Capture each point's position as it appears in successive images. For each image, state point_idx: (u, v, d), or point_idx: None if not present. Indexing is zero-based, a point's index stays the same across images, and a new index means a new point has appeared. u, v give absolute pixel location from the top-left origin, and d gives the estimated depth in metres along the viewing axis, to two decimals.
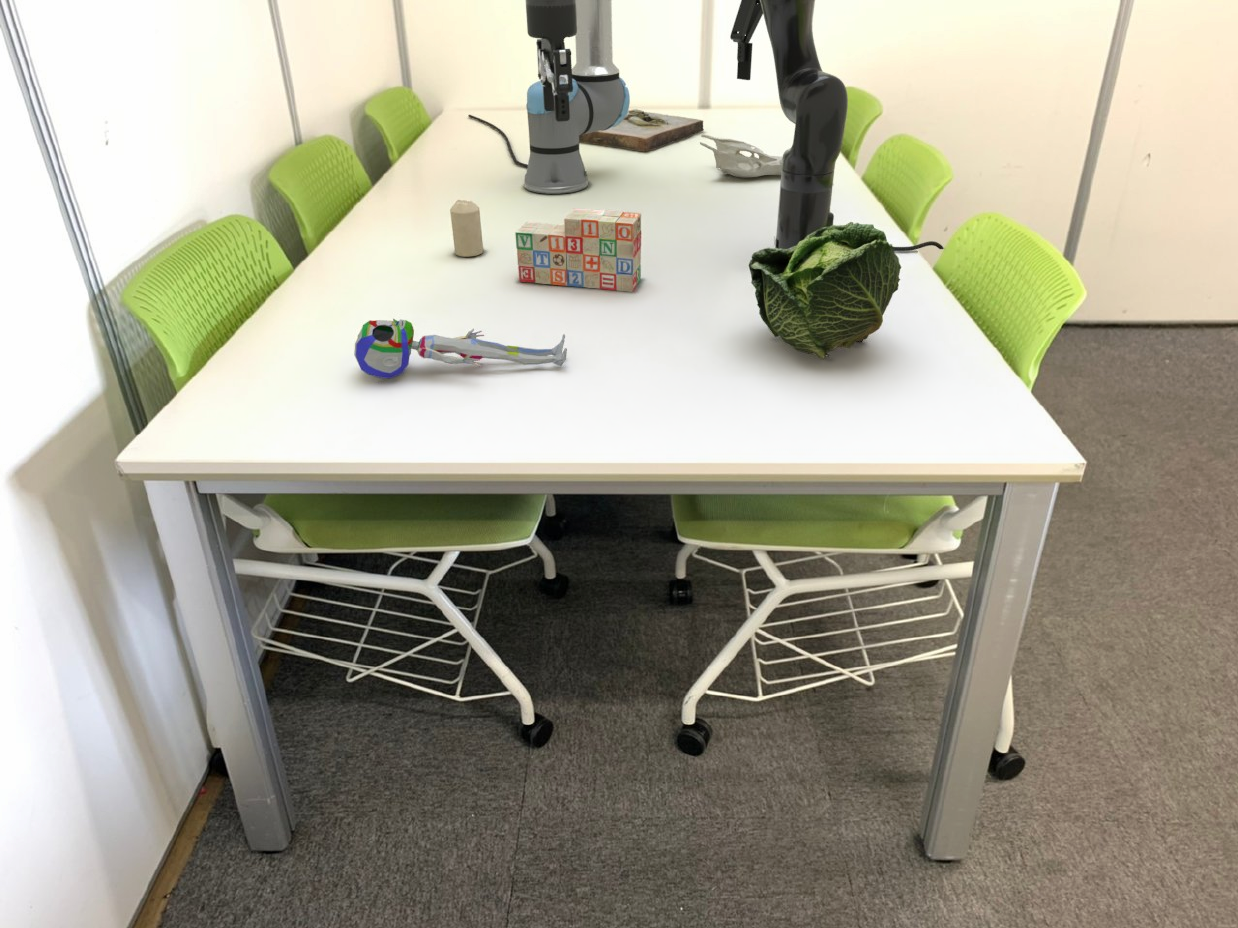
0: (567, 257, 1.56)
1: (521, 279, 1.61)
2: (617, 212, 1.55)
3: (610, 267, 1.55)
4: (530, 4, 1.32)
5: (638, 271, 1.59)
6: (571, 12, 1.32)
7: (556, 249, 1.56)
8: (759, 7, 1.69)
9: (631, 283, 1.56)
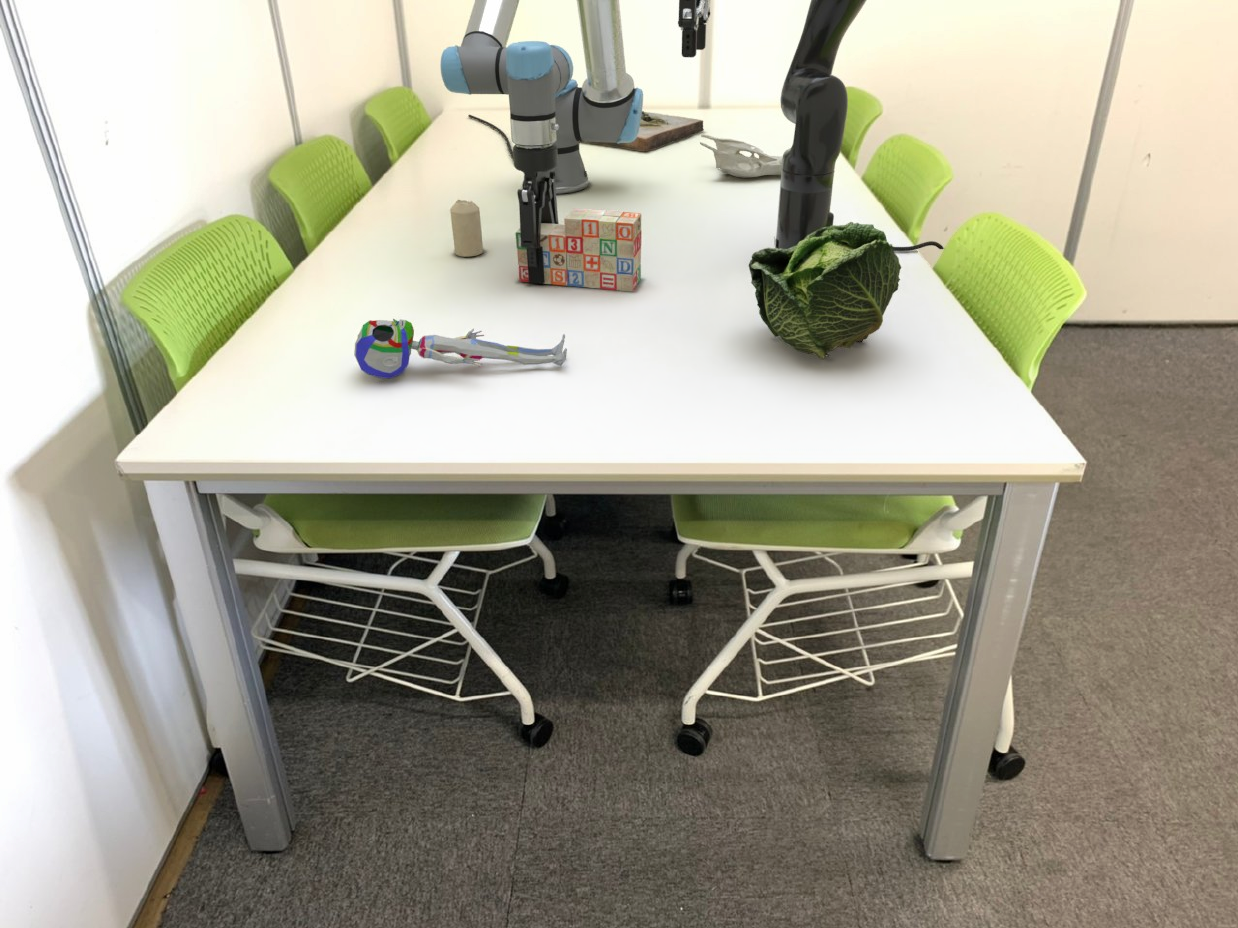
0: (567, 257, 1.56)
1: (521, 279, 1.61)
2: (617, 212, 1.55)
3: (610, 267, 1.55)
4: None
5: (638, 271, 1.60)
6: None
7: (556, 249, 1.56)
8: (536, 206, 1.53)
9: (631, 283, 1.56)
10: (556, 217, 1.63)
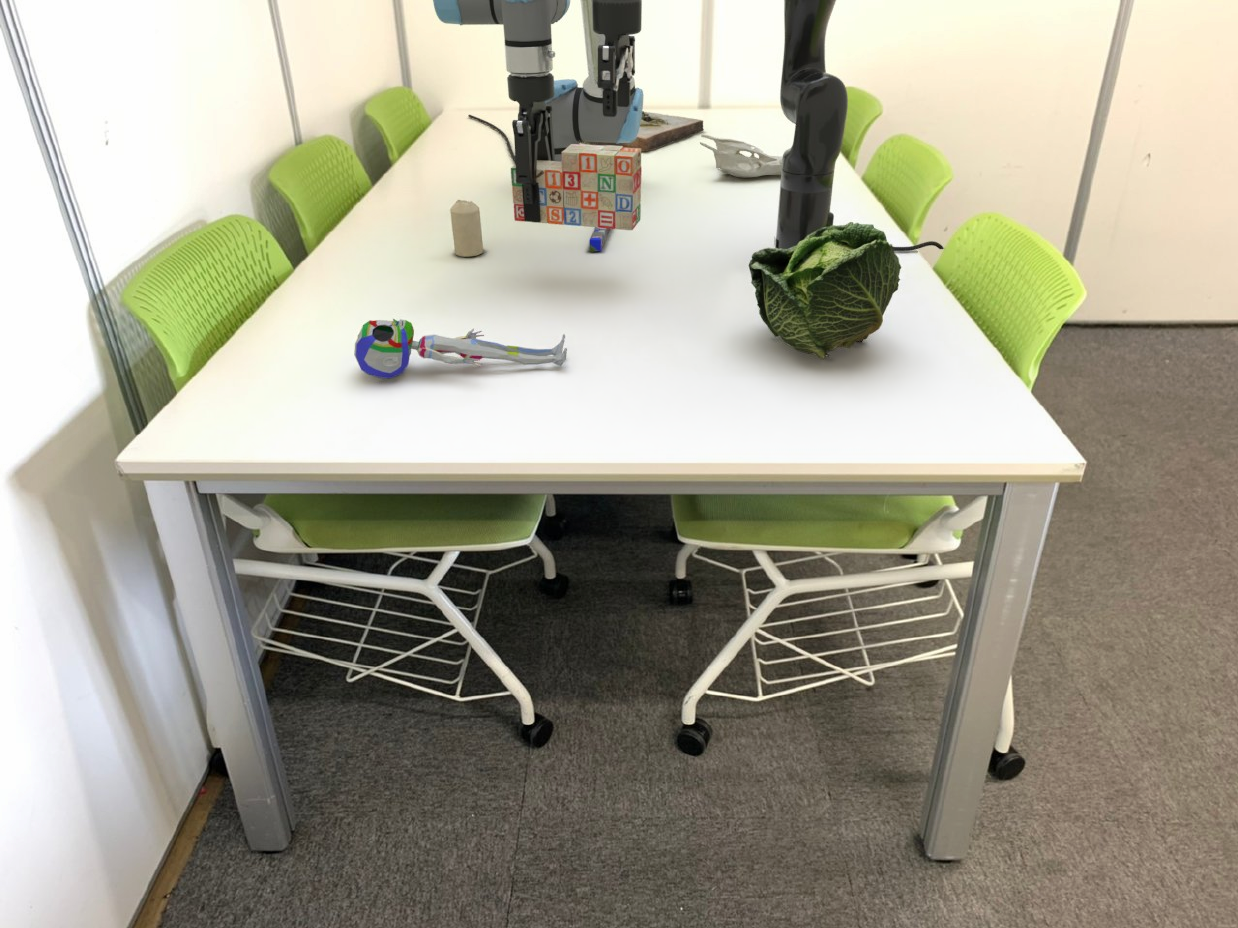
0: (564, 194, 1.51)
1: (516, 218, 1.55)
2: (616, 147, 1.49)
3: (608, 204, 1.50)
4: (592, 0, 1.35)
5: (638, 210, 1.54)
6: (628, 10, 1.34)
7: (553, 185, 1.50)
8: (532, 140, 1.47)
9: (630, 221, 1.50)
10: (553, 155, 1.57)
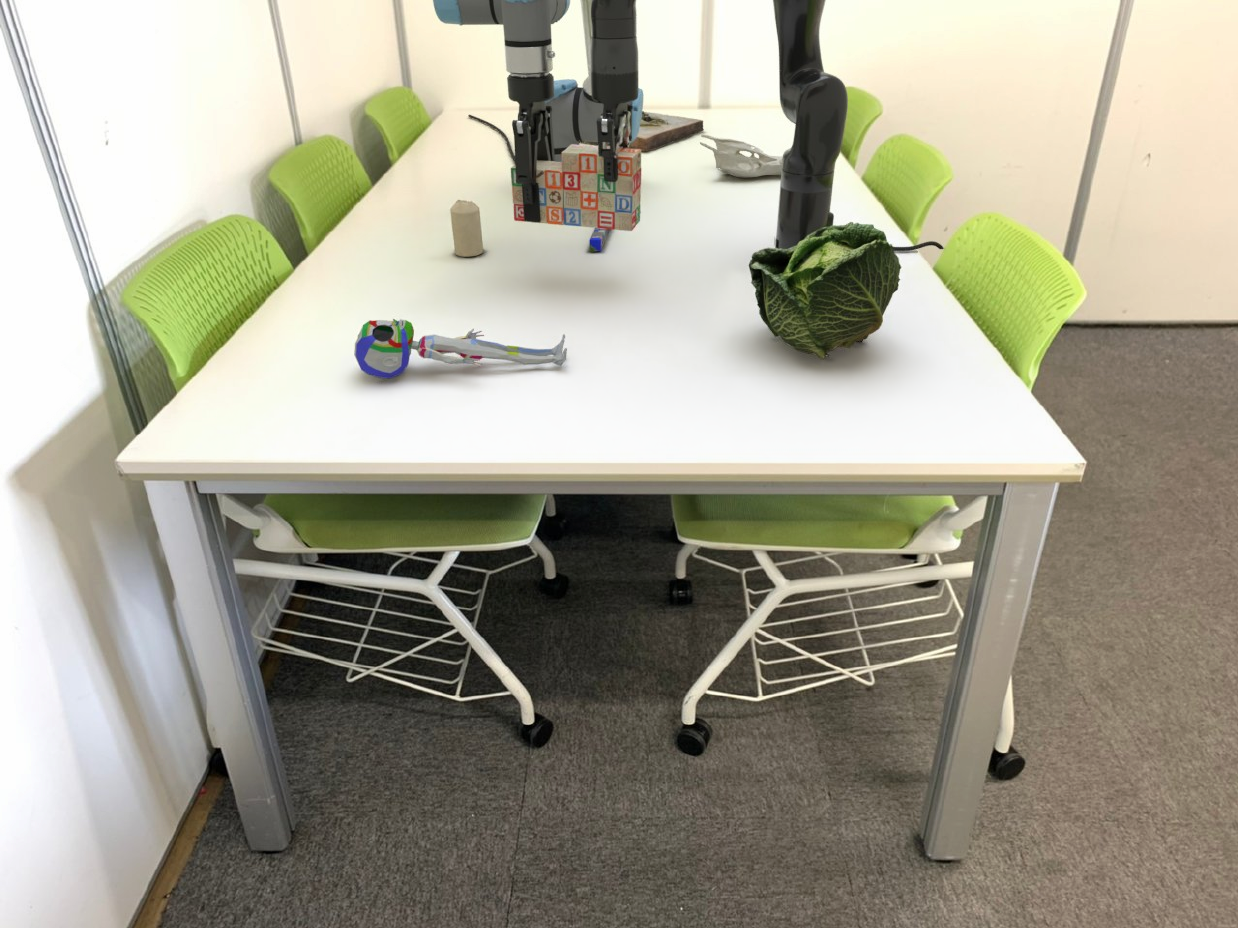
0: (564, 194, 1.51)
1: (516, 218, 1.55)
2: None
3: (608, 205, 1.50)
4: (591, 70, 1.40)
5: (638, 211, 1.54)
6: (625, 80, 1.39)
7: (553, 185, 1.50)
8: (532, 140, 1.47)
9: (630, 222, 1.50)
10: (553, 155, 1.57)
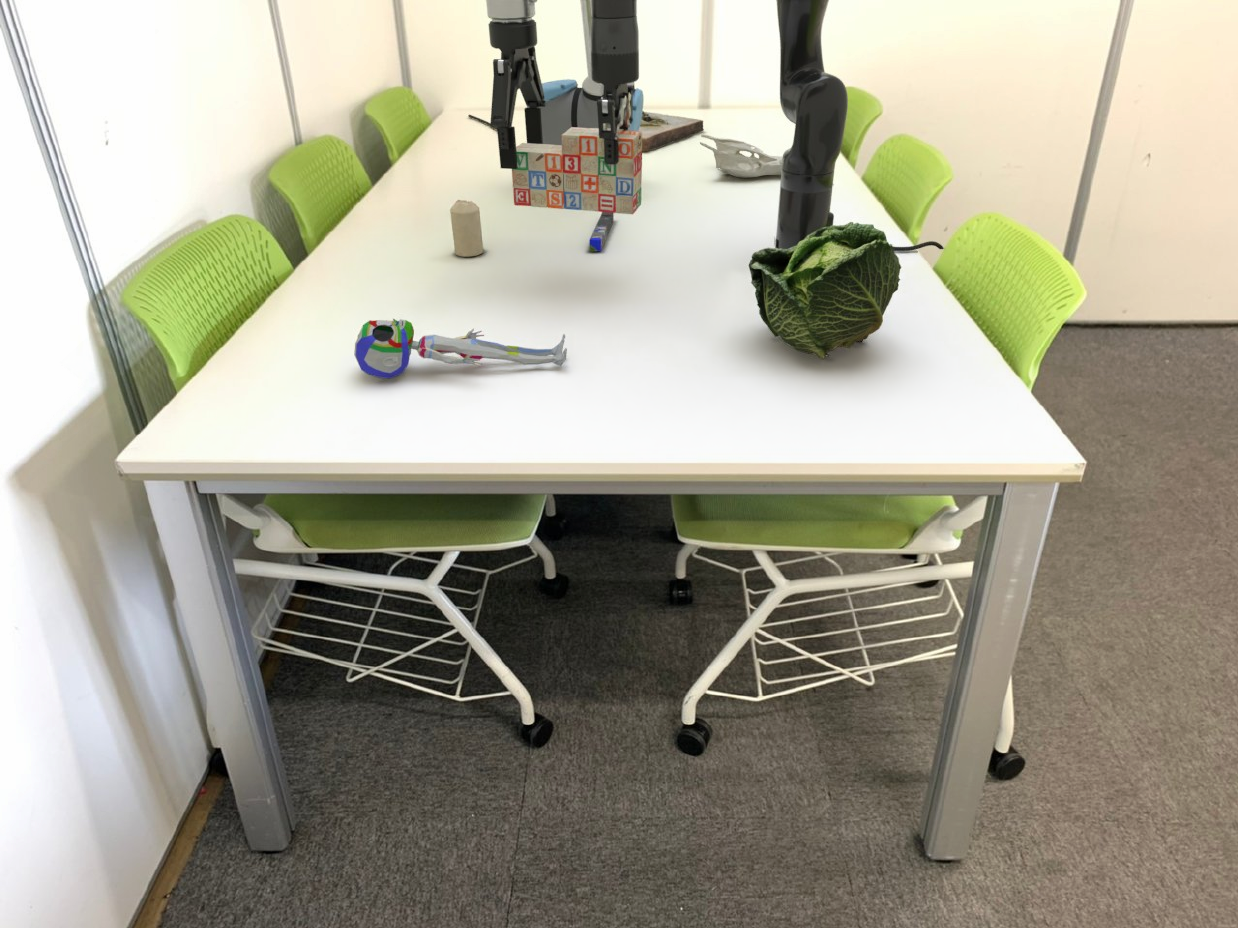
0: (564, 177, 1.49)
1: (516, 203, 1.54)
2: None
3: (609, 188, 1.48)
4: (591, 50, 1.39)
5: (639, 194, 1.52)
6: (625, 61, 1.37)
7: (553, 169, 1.49)
8: (512, 84, 1.42)
9: (631, 205, 1.49)
10: (541, 92, 1.55)
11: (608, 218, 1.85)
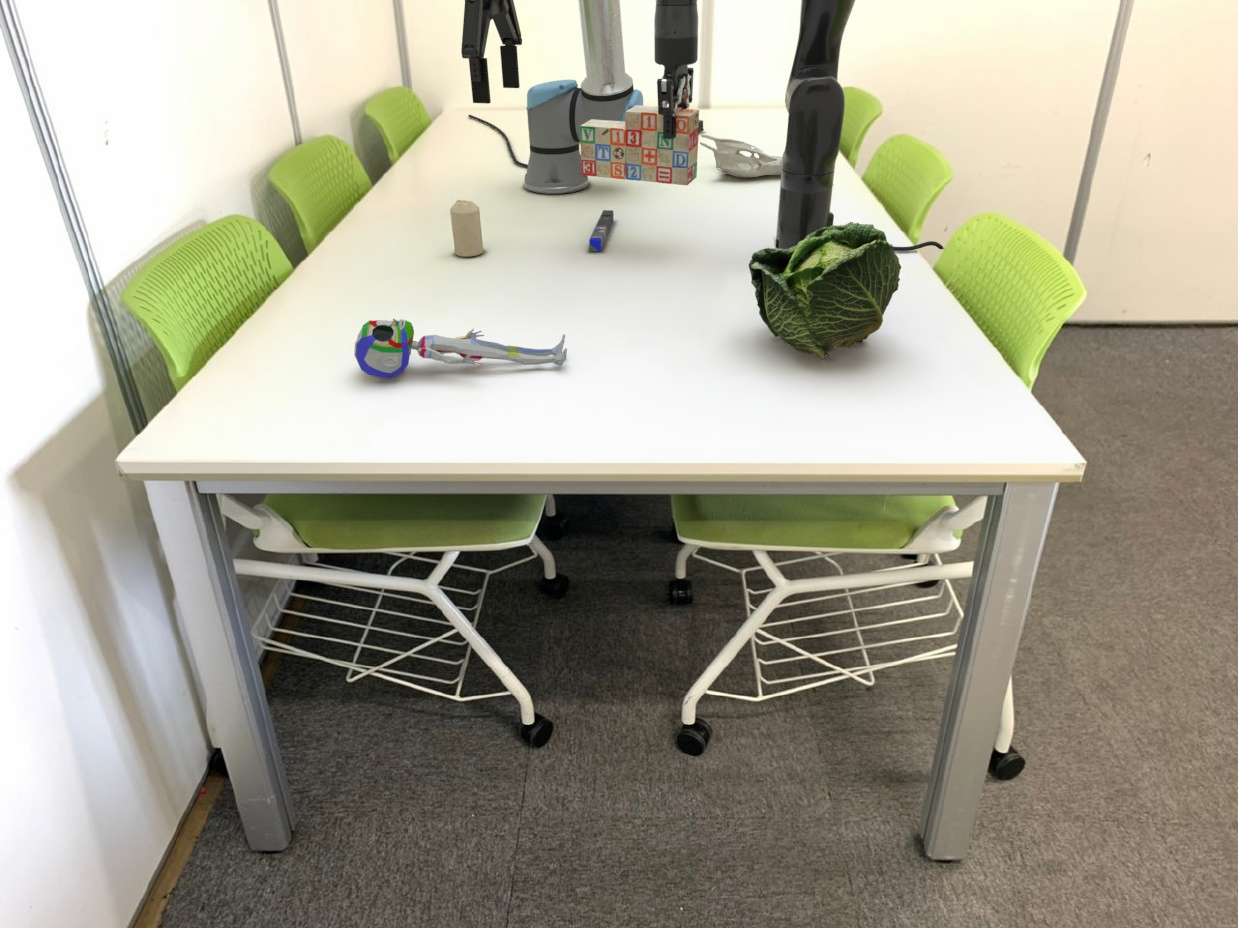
0: (627, 150, 1.65)
1: (583, 173, 1.70)
2: None
3: (666, 161, 1.63)
4: (654, 35, 1.54)
5: (694, 168, 1.67)
6: (684, 44, 1.52)
7: (617, 142, 1.65)
8: (485, 14, 1.38)
9: (686, 176, 1.63)
10: (518, 29, 1.50)
11: (608, 218, 1.85)
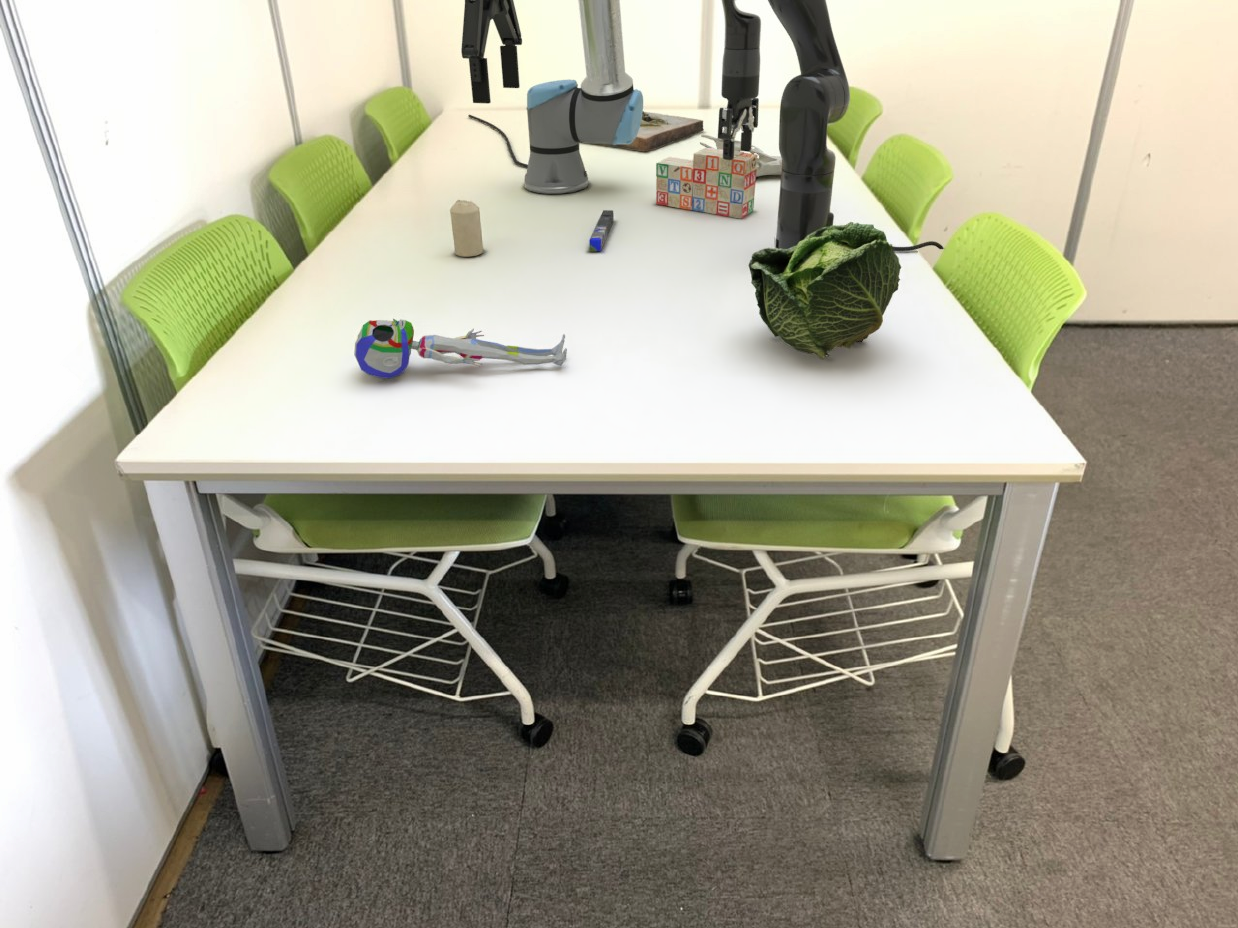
0: (693, 186, 1.94)
1: (658, 202, 2.00)
2: (738, 152, 1.90)
3: (725, 197, 1.91)
4: (722, 73, 1.81)
5: (751, 203, 1.94)
6: (745, 82, 1.78)
7: (685, 179, 1.94)
8: (485, 14, 1.38)
9: (740, 211, 1.91)
10: (518, 29, 1.50)
11: (608, 218, 1.85)
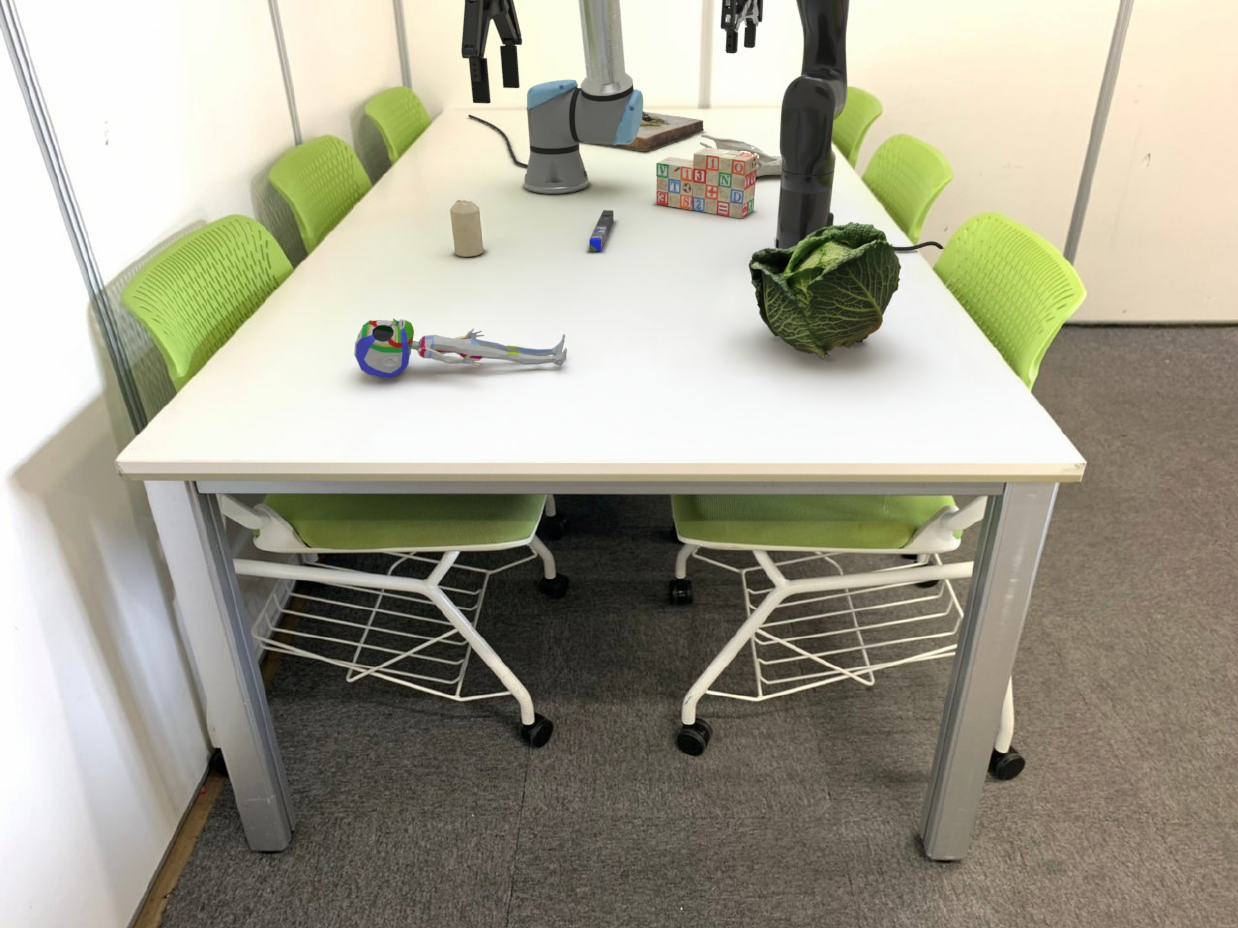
0: (693, 186, 1.94)
1: (658, 202, 2.00)
2: (738, 152, 1.90)
3: (725, 197, 1.91)
4: None
5: (751, 203, 1.94)
6: None
7: (686, 178, 1.94)
8: (485, 14, 1.38)
9: (741, 211, 1.91)
10: (518, 29, 1.50)
11: (608, 218, 1.85)
